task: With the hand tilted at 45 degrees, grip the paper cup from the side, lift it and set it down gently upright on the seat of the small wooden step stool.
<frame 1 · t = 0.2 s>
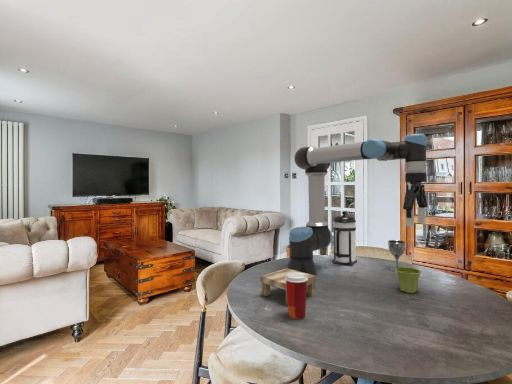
hand: (415, 224, 117), 28 cm above the table, tool pointing down, fingers open, 13 cm apart
plant pot: (408, 291, 120), on the table
wine glass: (397, 270, 149), on the table
wooden step stool: (288, 295, 117), on the table
paper cup: (296, 316, 98), on the table
coffee press: (344, 264, 163), on the table
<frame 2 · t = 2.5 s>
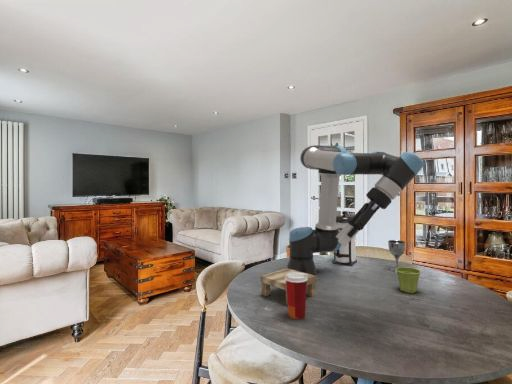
hand: (339, 241, 97), 26 cm above the table, tool tilted 40°, fingers open, 13 cm apart
nothing on the table moved.
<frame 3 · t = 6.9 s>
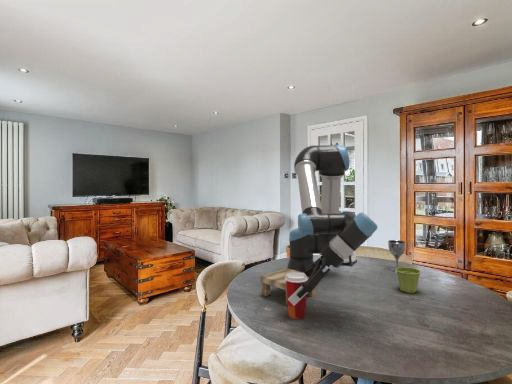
hand: (292, 294, 98), 7 cm above the table, tool tilted 45°, fingers open, 13 cm apart
nothing on the table moved.
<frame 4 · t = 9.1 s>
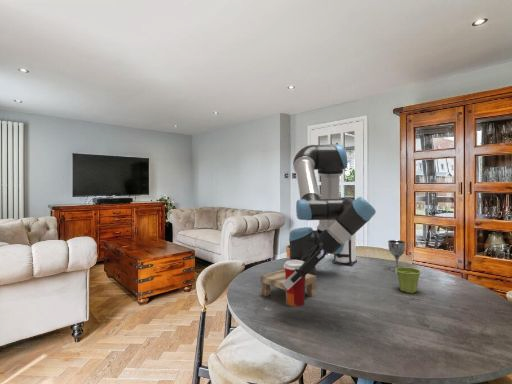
hand: (286, 282, 98), 11 cm above the table, tool tilted 45°, fingers closed on paper cup, 8 cm apart
paper cup: (295, 303, 98), point 4 cm above the table, touching gripper
everything else where it was.
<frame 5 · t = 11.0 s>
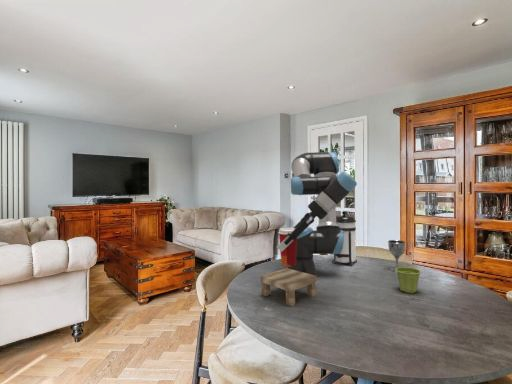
hand: (280, 246, 114), 21 cm above the table, tool tilted 45°, fingers closed on paper cup, 8 cm apart
paper cup: (288, 264, 113), point 13 cm above the table, touching gripper
everything else where it was.
when the fingers open (15 cm above the table, at t = 13.0 s): paper cup stays where it is, resting on wooden step stool.
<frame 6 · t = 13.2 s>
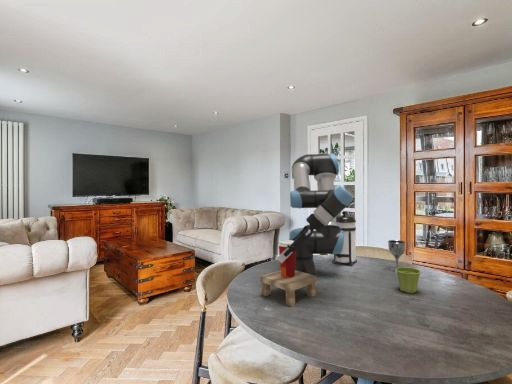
hand: (280, 257, 117), 15 cm above the table, tool tilted 45°, fingers open, 9 cm apart
paper cup: (287, 276, 117), point 8 cm above the table, touching wooden step stool
everything else where it was.
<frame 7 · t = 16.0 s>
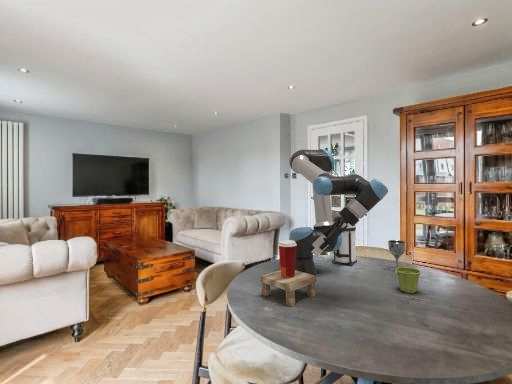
hand: (314, 250, 115), 19 cm above the table, tool tilted 45°, fingers open, 13 cm apart
nothing on the table moved.
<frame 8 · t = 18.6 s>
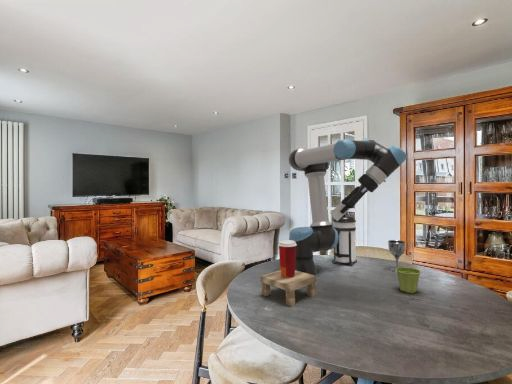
hand: (333, 216, 117), 32 cm above the table, tool tilted 45°, fingers open, 13 cm apart
nothing on the table moved.
at the end: paper cup inside the target area on the wooden step stool (0.3 cm from its centre), point 7.8 cm above the wooden step stool's base; paper cup tilted 0°; the gripper is holding nothing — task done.
